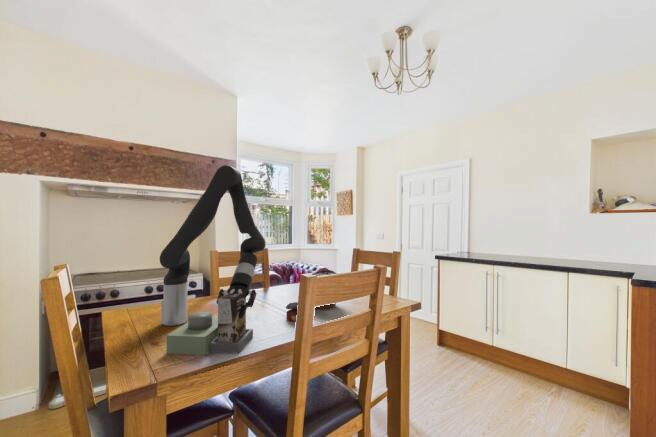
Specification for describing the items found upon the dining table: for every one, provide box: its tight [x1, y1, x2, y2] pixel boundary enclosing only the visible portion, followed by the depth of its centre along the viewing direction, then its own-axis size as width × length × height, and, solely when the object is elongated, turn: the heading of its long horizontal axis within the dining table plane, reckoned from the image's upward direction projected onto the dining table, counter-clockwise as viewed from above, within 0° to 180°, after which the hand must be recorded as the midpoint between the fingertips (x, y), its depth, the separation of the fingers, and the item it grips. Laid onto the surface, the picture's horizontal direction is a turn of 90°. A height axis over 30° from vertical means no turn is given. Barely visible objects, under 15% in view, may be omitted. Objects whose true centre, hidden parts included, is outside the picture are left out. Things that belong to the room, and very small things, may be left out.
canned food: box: [285, 301, 299, 323], centre depth 130 cm, size 11×10×10 cm
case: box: [311, 269, 338, 311], centre depth 147 cm, size 18×20×18 cm
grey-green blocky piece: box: [166, 311, 254, 356], centre depth 103 cm, size 24×18×10 cm
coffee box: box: [217, 293, 247, 343], centre depth 103 cm, size 9×6×16 cm
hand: (230, 316), depth 101 cm, fingers closed on coffee box, 7 cm apart
